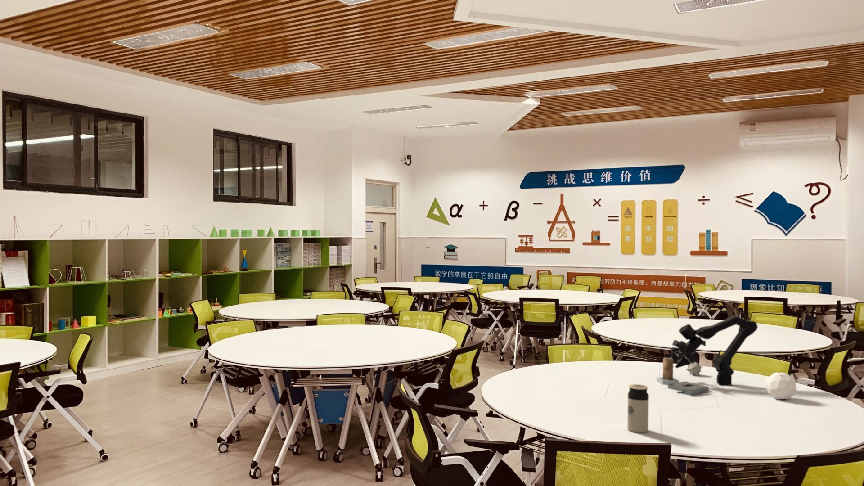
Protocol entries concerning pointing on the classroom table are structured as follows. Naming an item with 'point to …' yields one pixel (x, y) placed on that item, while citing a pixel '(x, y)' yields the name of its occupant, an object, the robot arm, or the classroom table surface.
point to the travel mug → (638, 408)
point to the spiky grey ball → (694, 368)
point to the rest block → (667, 381)
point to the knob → (667, 369)
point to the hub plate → (689, 388)
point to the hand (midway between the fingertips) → (671, 365)
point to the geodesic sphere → (781, 386)
